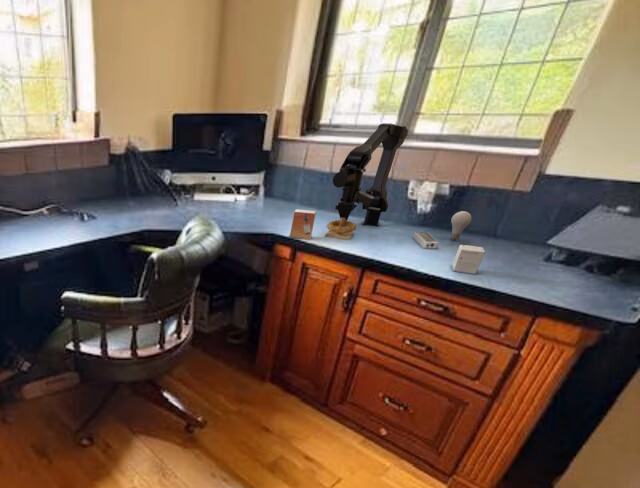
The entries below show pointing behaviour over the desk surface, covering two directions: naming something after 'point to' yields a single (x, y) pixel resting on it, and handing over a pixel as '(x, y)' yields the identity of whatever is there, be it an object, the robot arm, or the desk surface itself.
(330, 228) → the ring
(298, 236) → the small box
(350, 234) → the peg stand
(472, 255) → the product box
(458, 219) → the lightbulb
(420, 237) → the multiport hub
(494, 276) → the desk surface
